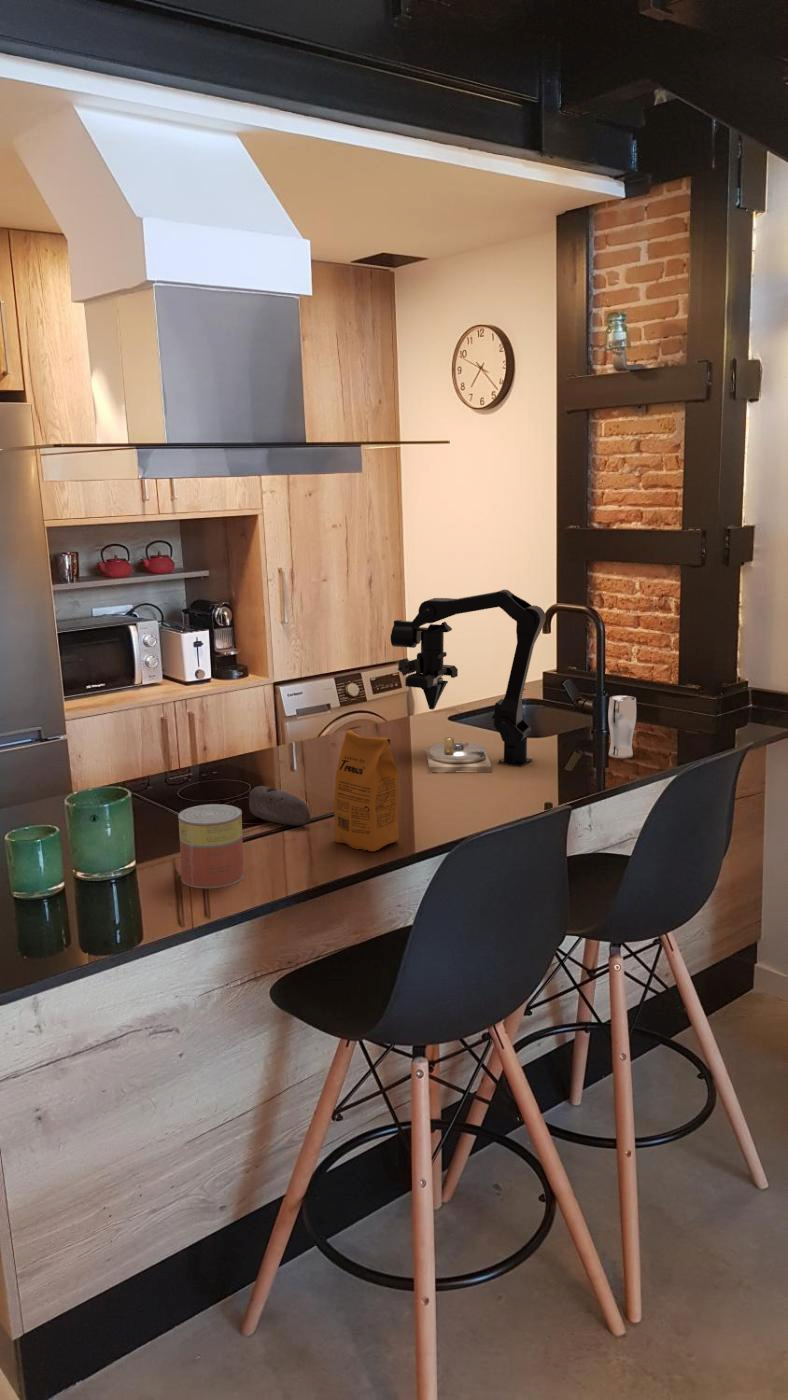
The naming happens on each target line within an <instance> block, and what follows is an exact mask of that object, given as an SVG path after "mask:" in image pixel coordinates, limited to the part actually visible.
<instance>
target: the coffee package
mask: <svg viewBox="0 0 788 1400" xmlns="http://www.w3.org/2000/svg"><path fill="white" fill-rule="evenodd" d="M391 744H392V742H391V739H390V738H389V737H363V736H361V735H359V734H357V733H355V732H353V731H352V730H350V729H348V730H346V731H345V736H344V740H343V743H342V745H341V751H340V755H339V759H338V764H337V769H336V773H335V781H334V782H335V783H334V784H335V787H334V798H333V799H334V800H333V815H334V842H335V843H338V844H346V845H348V846H349V847H350V848H351V847H352V848H351V849H353V848H355V849H354V850H358V849H363V850H362V851H366V850H368V852H377V851H379V850H380V849H382V848H384V847H386V846H387V845H389V844H392V843H395V842H397V841H398V840H399V838H400V836H399V835H400V834H399V800H400V799H399V797H400V795H399V794H400V793H399V791H400V790H399V782H400V781H399V777H400V776H399V775H400V774H399V773H400V772H399V770H398V767H397V764H396V761H395V759H394V757H393V755H392V753H391V750H390V747H389V746H390V745H391ZM376 850H377V851H376Z"/></svg>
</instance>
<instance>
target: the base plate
mask: <svg viewBox="0 0 788 1400" xmlns="http://www.w3.org/2000/svg"><path fill="white" fill-rule="evenodd" d="M425 753H426V754H427V755H426V760H428V761H427V766H428V773H429V772H456V771H477V772H476V773H492V764H491V761H490V759H489V756H488V754H487V753H486V757H485V759H483V760H481V761H477V762H472V763H445V762H440V761H436V760H433V759H432V758H430V748H426V752H425Z"/></svg>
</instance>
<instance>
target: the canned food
mask: <svg viewBox="0 0 788 1400" xmlns="http://www.w3.org/2000/svg"><path fill="white" fill-rule="evenodd" d="M242 815H243V811H242V809H241V808H239V807H237V806H234V805H230V804H221V803H209V804H207V803H206V804H200V805H195V806H190V807H187V808H185V809H182V810H180V812H179V813H178V814H177V818H178V830H179V831H178V832H179V833H178V834H179V850H180V851H179V852H180V854H179V855H180V866H181V867H180V868H181V869H180V871H181V876H180V880H181V882H182V884H184V885H185V886H188V887H192V888H194V889H195V888H196V889H219V888H225V887H229V886H232V885H235V884H238V883H239V882H241V881H242V880H243V879H244V877H245V869H244V845H243V825H242V824H243V819H242V818H243V817H242Z"/></svg>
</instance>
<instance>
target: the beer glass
mask: <svg viewBox="0 0 788 1400" xmlns="http://www.w3.org/2000/svg"><path fill="white" fill-rule="evenodd" d="M607 711H608V712H607V713H608V716H607V717H608V719H607V721H608V728H609V734H610V747H609V751H608V756H610V757H611V758H616V759H630V758H632V757H633V755H634V753H633V743H632V742H633V737H634V731H635V727H636V722H637V698H636V697H635V696H631V695H630V696H629V695H612V696H610V697H609V701H608V710H607Z"/></svg>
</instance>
